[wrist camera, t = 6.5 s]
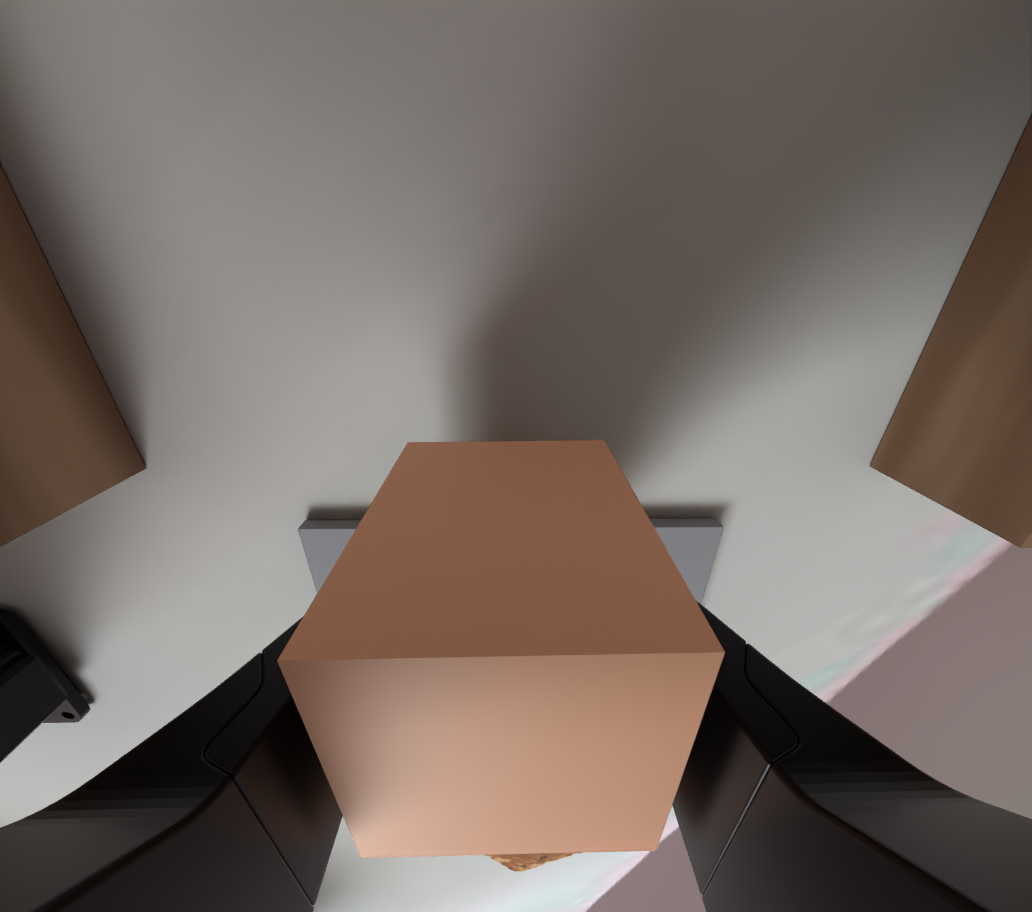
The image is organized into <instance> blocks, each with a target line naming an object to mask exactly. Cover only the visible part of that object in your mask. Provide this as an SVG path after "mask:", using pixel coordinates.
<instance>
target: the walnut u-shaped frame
mask: <svg viewBox="0 0 1032 912" xmlns="http://www.w3.org/2000/svg"><path fill="white" fill-rule="evenodd" d="M870 467H872V468H874V469H876V470H878V471H879V472H881V473H883V474H885V475H887V476H889V477H891V478H892V479H894V480H896V481H898V482H900V483H902V484H903V485H905V486H907V487H909V488H911V489H913V490H915V491H916V492H918V493H920V494H922V495H924V496H926V497H927V498H929V499H931V500H933V501H935V502H937V503H939V504H940V505H942V506H944V507H946V508H948V509H950V510H952V511H953V512H955V513H957V514H959V515H961V516H963V517H964V518H966V519H968V520H970V521H972V522H974V523H976V524H977V525H979V526H981V527H983V528H985V529H987V530H988V531H990V532H992V533H994V534H996V535H998V536H1000V537H1001V538H1003V539H1005V540H1007V541H1009V542H1011V543H1013V544H1014V545H1016V546H1019V547H1020V548H1032V117H1031V119H1030V121H1029V123H1028V125H1027V127H1026V129H1025V132H1024V134H1023V136H1022V138H1021V140H1020V142H1019V145H1018V147H1017V149H1016V151H1015V153H1014V155H1013V158H1012V160H1011V162H1010V164H1009V166H1008V168H1007V171H1006V173H1005V175H1004V177H1003V179H1002V181H1001V184H1000V186H999V188H998V190H997V192H996V194H995V196H994V199H993V201H992V203H991V205H990V207H989V209H988V212H987V214H986V216H985V218H984V220H983V222H982V225H981V227H980V229H979V231H978V233H977V235H976V238H975V240H974V242H973V244H972V246H971V248H970V250H969V253H968V255H967V257H966V259H965V261H964V263H963V266H962V268H961V270H960V272H959V274H958V276H957V279H956V281H955V283H954V285H953V287H952V289H951V292H950V294H949V296H948V298H947V300H946V302H945V305H944V307H943V309H942V311H941V313H940V315H939V317H938V320H937V322H936V324H935V326H934V328H933V330H932V333H931V335H930V337H929V339H928V341H927V343H926V346H925V348H924V350H923V352H922V354H921V356H920V359H919V361H918V363H917V365H916V367H915V369H914V371H913V374H912V376H911V378H910V380H909V382H908V384H907V387H906V389H905V391H904V393H903V395H902V397H901V400H900V402H899V404H898V406H897V408H896V410H895V413H894V415H893V417H892V419H891V421H890V423H889V425H888V428H887V430H886V432H885V434H884V436H883V438H882V441H881V443H880V445H879V447H878V449H877V451H876V454H875V456H874V458H873V460H872V462H871V464H870ZM144 469H146V468H145V466H144V464H143V462H142V459H141V457H140V455H139V453H138V451H137V449H136V447H135V445H134V443H133V441H132V439H131V436H130V434H129V432H128V430H127V428H126V426H125V424H124V422H123V420H122V418H121V416H120V414H119V411H118V409H117V407H116V405H115V403H114V401H113V399H112V397H111V395H110V393H109V391H108V389H107V386H106V384H105V382H104V380H103V378H102V376H101V374H100V372H99V370H98V368H97V366H96V364H95V361H94V359H93V357H92V355H91V353H90V351H89V349H88V347H87V345H86V343H85V341H84V339H83V336H82V334H81V332H80V330H79V328H78V326H77V324H76V322H75V320H74V318H73V316H72V314H71V311H70V309H69V307H68V305H67V303H66V301H65V299H64V297H63V295H62V293H61V291H60V289H59V286H58V284H57V282H56V280H55V278H54V276H53V274H52V272H51V270H50V268H49V266H48V264H47V261H46V259H45V257H44V255H43V253H42V251H41V249H40V247H39V245H38V243H37V241H36V239H35V236H34V234H33V232H32V230H31V228H30V226H29V224H28V222H27V220H26V218H25V216H24V214H23V211H22V209H21V207H20V205H19V203H18V201H17V199H16V197H15V195H14V193H13V191H12V188H11V186H10V184H9V182H8V180H7V178H6V176H5V174H4V172H3V170H2V168H1V166H0V547H1V546H3V545H4V544H6V543H8V542H10V541H12V540H14V539H16V538H17V537H19V536H21V535H23V534H25V533H27V532H29V531H30V530H32V529H34V528H36V527H38V526H40V525H42V524H43V523H45V522H47V521H49V520H51V519H53V518H55V517H57V516H58V515H60V514H62V513H64V512H66V511H68V510H70V509H71V508H73V507H75V506H77V505H79V504H81V503H83V502H84V501H86V500H88V499H90V498H92V497H94V496H96V495H97V494H99V493H101V492H103V491H105V490H107V489H109V488H110V487H112V486H114V485H116V484H118V483H120V482H122V481H123V480H125V479H127V478H129V477H131V476H133V475H135V474H137V473H138V472H140V471H142V470H144Z"/></svg>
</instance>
